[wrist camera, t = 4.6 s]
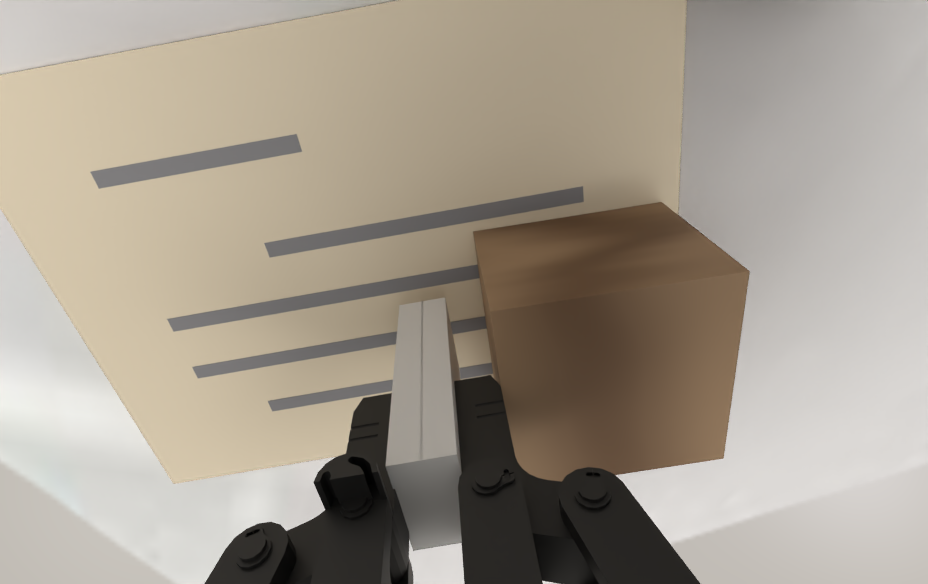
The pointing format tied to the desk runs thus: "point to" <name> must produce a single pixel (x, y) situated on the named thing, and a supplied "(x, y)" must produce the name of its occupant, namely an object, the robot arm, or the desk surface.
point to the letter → (321, 197)
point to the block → (612, 339)
